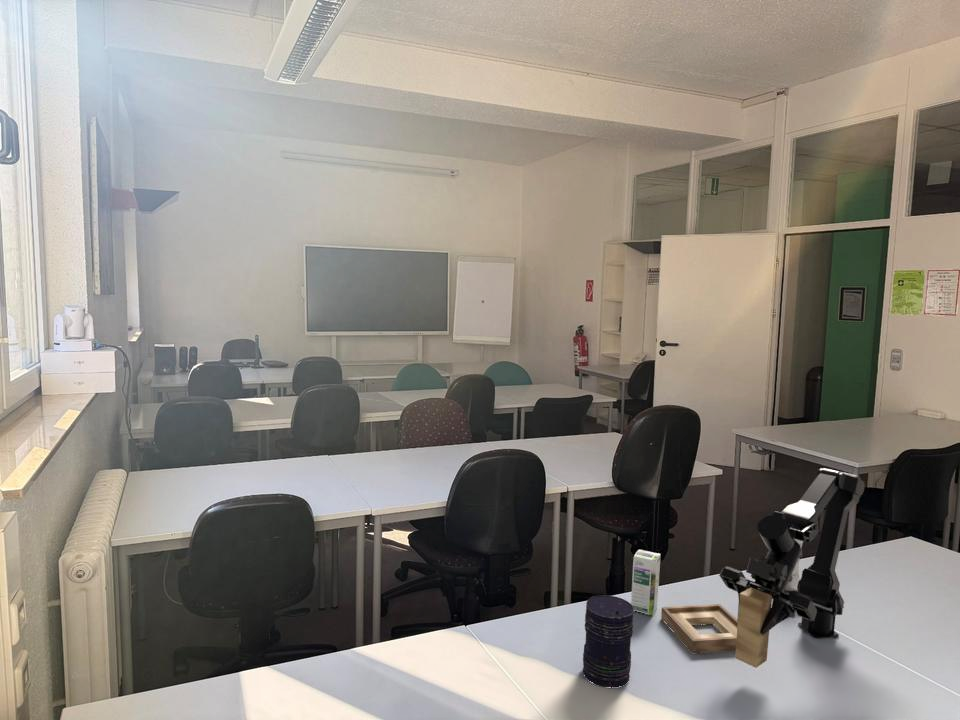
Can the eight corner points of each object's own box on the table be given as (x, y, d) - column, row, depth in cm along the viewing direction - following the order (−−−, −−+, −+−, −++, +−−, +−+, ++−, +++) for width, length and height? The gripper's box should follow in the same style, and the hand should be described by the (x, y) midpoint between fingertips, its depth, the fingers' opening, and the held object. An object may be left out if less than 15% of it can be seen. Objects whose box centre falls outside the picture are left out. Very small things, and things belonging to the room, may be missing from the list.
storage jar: (573, 665, 137) (577, 598, 136) (613, 657, 141) (617, 592, 139) (598, 692, 128) (601, 621, 126) (639, 683, 131) (644, 614, 130)
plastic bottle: (775, 592, 175) (781, 521, 173) (771, 581, 182) (777, 513, 180) (801, 595, 173) (807, 524, 171) (796, 585, 180) (802, 516, 178)
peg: (746, 650, 136) (750, 587, 134) (766, 660, 132) (772, 595, 131) (735, 657, 133) (739, 593, 132) (756, 668, 130) (761, 601, 128)
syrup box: (629, 611, 162) (632, 555, 160) (635, 601, 167) (638, 547, 166) (652, 617, 159) (656, 560, 158) (657, 607, 164) (661, 552, 163)
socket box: (719, 615, 161) (720, 604, 161) (755, 649, 146) (756, 636, 145) (661, 618, 158) (661, 607, 158) (692, 653, 143) (693, 641, 143)
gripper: (726, 530, 140) (695, 592, 134) (815, 558, 126) (784, 629, 120) (742, 556, 146) (713, 617, 140) (829, 586, 131) (800, 655, 126)
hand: (750, 628), depth 131 cm, fingers closed on peg, 4 cm apart
